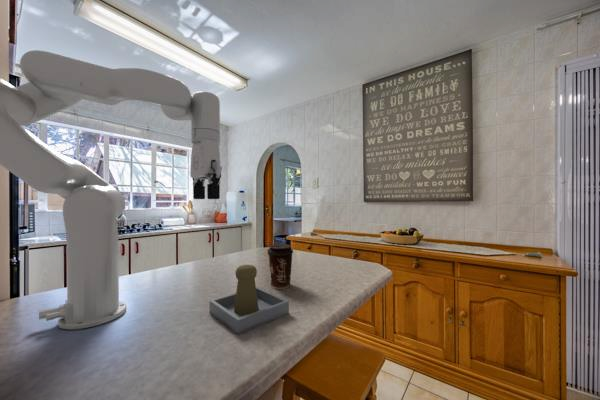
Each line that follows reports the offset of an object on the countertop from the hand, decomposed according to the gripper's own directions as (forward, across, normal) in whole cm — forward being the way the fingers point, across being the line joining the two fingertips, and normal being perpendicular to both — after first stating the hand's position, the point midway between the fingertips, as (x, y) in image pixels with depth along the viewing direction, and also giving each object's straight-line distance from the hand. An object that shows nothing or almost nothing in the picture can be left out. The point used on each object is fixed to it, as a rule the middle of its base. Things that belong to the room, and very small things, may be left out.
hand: (206, 199), depth 70 cm
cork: (+28, +15, +4) cm, 32 cm away
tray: (+28, +16, +4) cm, 33 cm away
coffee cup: (+28, +6, +22) cm, 36 cm away
